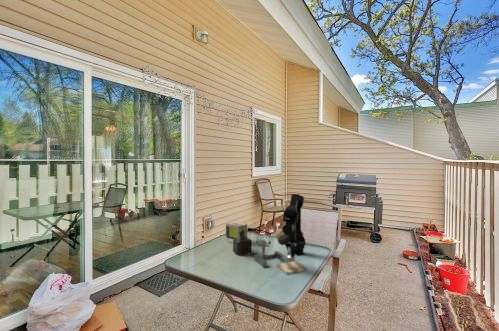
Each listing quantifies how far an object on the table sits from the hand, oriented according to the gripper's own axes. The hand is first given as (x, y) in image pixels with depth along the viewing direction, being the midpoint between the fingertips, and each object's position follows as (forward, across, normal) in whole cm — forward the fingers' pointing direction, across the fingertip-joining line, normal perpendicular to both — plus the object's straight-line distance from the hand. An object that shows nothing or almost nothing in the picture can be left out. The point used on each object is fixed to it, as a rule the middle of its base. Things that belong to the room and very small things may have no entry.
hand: (291, 256), depth 151 cm
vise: (+7, -14, -6) cm, 17 cm away
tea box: (+8, -60, -11) cm, 61 cm away
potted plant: (+8, -35, -16) cm, 39 cm away
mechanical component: (+7, -26, -5) cm, 27 cm away
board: (+7, 0, 0) cm, 7 cm away
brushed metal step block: (+3, 0, -2) cm, 3 cm away
